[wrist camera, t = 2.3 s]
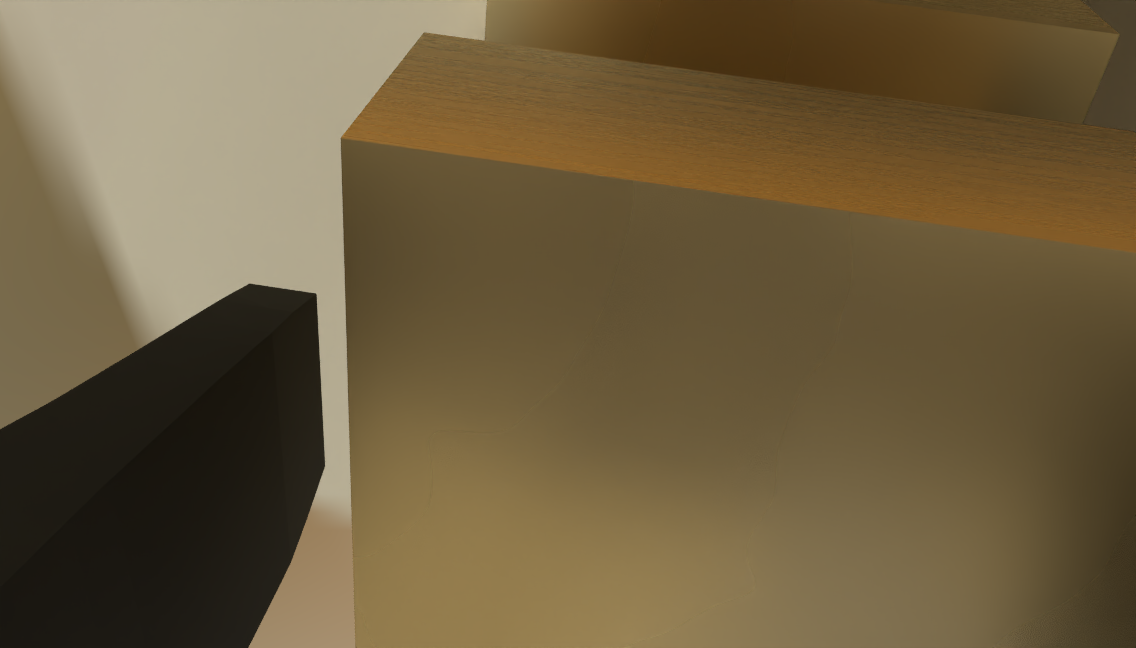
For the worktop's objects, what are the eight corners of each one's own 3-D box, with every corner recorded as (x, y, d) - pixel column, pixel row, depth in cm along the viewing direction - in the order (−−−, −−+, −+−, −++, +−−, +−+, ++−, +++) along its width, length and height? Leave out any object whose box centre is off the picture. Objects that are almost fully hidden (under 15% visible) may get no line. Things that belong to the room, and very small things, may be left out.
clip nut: (887, 437, 11) (997, 902, 7) (488, 377, 11) (359, 793, 7) (1057, -21, 8) (1415, 292, 4) (522, -91, 8) (341, 139, 4)
